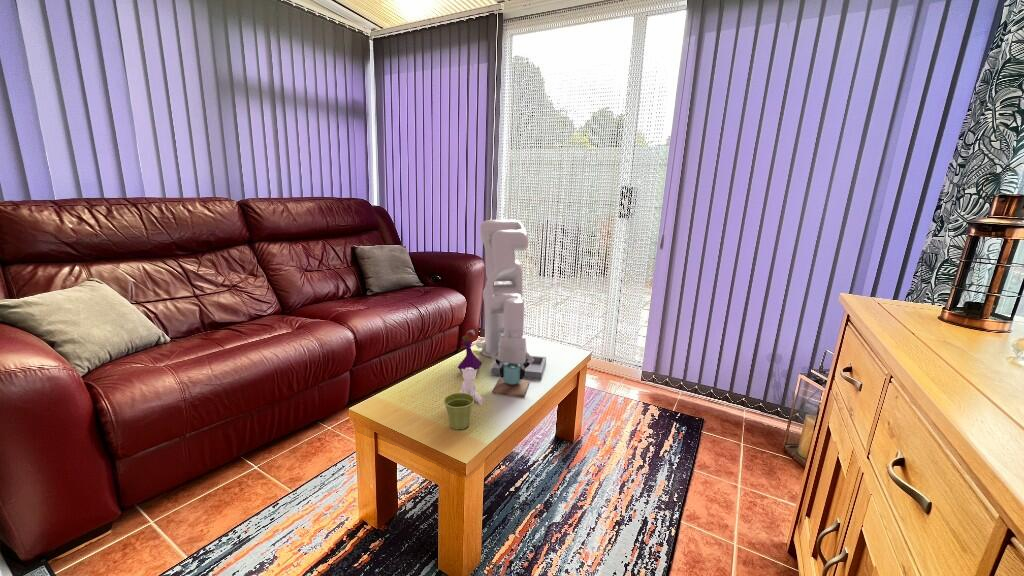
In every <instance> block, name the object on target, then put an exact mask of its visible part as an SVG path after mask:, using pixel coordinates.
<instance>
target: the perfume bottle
mask: <svg viewBox="0 0 1024 576" xmlns="http://www.w3.org/2000/svg"><path fill="white" fill-rule="evenodd" d="M469 333H471V334H472V335H473V336H474V337H475V336H476V332H475V330H474V329H471V330H468V331H467V332H466V334H465V335H463V336H462V340H461V344H462V345H463V346H464V347H465V350H466V355H465V357H464V358H463V359H462V361H461V362H460V363H459V364H458V365H457V368H458V369H459V370H460V372H461V373H462V374H463V372H462V370H461V369H465V368H469V367H471V368H473V369H474V370H477V369H478V370H477V372H478V371H479V369H480V368H481V366H482V365H483V362H482V361H481V360H480V359H479V358H478V357H477V356H476V355H475V354H474V353H473V350H472V348H471V344H472V343H473V342H472V340H471V337H470V336H469V335H468V334H469Z"/></svg>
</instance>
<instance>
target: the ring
mask: <svg viewBox="0 0 1024 576" xmlns="http://www.w3.org/2000/svg"><path fill="white" fill-rule="evenodd" d="M511 366H514V367H515V368H511ZM520 370H521V366H520V364H514V363H504V365H503V380H504V382H506V383H508V384H517V383H519V382H521V379H520Z"/></svg>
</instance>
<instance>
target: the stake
mask: <svg viewBox="0 0 1024 576" xmlns="http://www.w3.org/2000/svg"><path fill="white" fill-rule="evenodd" d="M511 368H515V367H514V366H511ZM530 384H531V383H530V380H526V379H522V380H521V382H519V383H517V384H508V383H506V382H504V380H503V378H502V377H499V378H498V379H497V381H496V383H495V384H494V387H493V388H492V391H491V395H497V396H507V397H516V398H526V395H527V391H528V389H529V387H530Z"/></svg>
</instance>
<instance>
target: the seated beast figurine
mask: <svg viewBox="0 0 1024 576" xmlns="http://www.w3.org/2000/svg"><path fill="white" fill-rule="evenodd" d="M461 370H462V371H461ZM461 370H460V371H461V373H462V372H463V373H462V377H463V379H464V380H462V384H461V388H460V391H459V393H467V394H470V395H472V396H473V397H474V403H473V404H479V405H480V406H481V404H482V405H483V403H484V400H483V398H482V396H481V395H480V394H479V393H478V390H477V388H476V383H475V381H474V379H475V378H476V376H477V375H476V374H477V372H478V371H479V369H477V370H478V371H477V370H474V369H473V368H471V367H469V368H465V369H461Z"/></svg>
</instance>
